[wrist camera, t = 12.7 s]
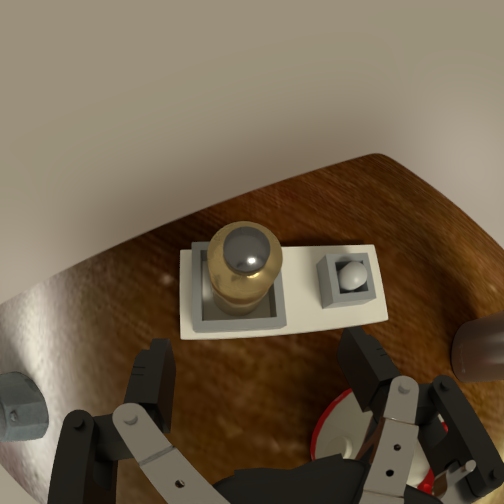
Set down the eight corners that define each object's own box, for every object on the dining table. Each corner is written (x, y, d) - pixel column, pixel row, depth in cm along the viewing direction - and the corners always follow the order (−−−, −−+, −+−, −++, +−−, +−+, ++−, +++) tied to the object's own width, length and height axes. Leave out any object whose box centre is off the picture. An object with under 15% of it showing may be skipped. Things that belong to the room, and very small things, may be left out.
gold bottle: (259, 268, 28) (281, 211, 17) (263, 315, 26) (291, 284, 16) (211, 269, 27) (206, 213, 17) (213, 317, 25) (207, 289, 15)
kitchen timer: (413, 369, 26) (510, 358, 12) (410, 464, 21) (493, 490, 7) (308, 392, 25) (388, 417, 11) (309, 497, 20) (367, 568, 6)
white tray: (368, 249, 31) (390, 230, 26) (381, 321, 28) (409, 312, 23) (182, 255, 29) (174, 233, 24) (183, 339, 26) (173, 335, 20)
